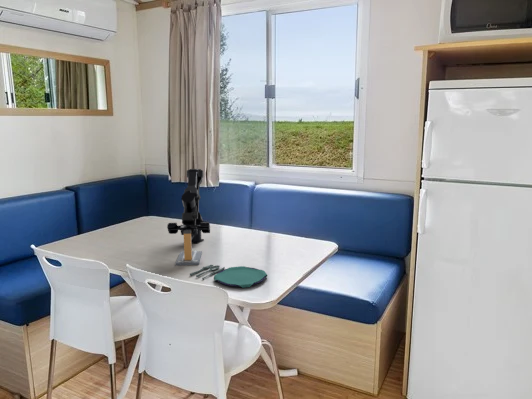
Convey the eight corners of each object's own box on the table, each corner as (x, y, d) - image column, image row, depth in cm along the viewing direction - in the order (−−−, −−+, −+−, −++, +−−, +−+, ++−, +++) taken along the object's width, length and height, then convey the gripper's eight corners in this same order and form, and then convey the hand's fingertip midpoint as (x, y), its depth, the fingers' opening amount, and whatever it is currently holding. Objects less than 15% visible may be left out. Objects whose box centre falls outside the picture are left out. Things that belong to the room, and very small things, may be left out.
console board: (180, 253, 194) (180, 250, 193) (202, 253, 194) (201, 249, 194) (175, 265, 178) (175, 261, 178) (199, 264, 179) (198, 260, 178)
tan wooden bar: (184, 258, 183) (183, 230, 180) (192, 258, 183) (191, 230, 181) (184, 260, 181) (183, 231, 178) (191, 260, 181) (190, 231, 178)
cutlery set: (248, 294, 149) (248, 288, 149) (185, 278, 164) (184, 273, 164) (275, 276, 166) (275, 271, 166) (215, 264, 181) (215, 259, 181)
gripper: (166, 205, 183) (163, 235, 175) (209, 204, 185) (208, 235, 176) (170, 218, 193) (167, 248, 184) (210, 217, 194) (209, 247, 185)
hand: (188, 244), depth 182 cm, fingers closed, pressing on tan wooden bar
